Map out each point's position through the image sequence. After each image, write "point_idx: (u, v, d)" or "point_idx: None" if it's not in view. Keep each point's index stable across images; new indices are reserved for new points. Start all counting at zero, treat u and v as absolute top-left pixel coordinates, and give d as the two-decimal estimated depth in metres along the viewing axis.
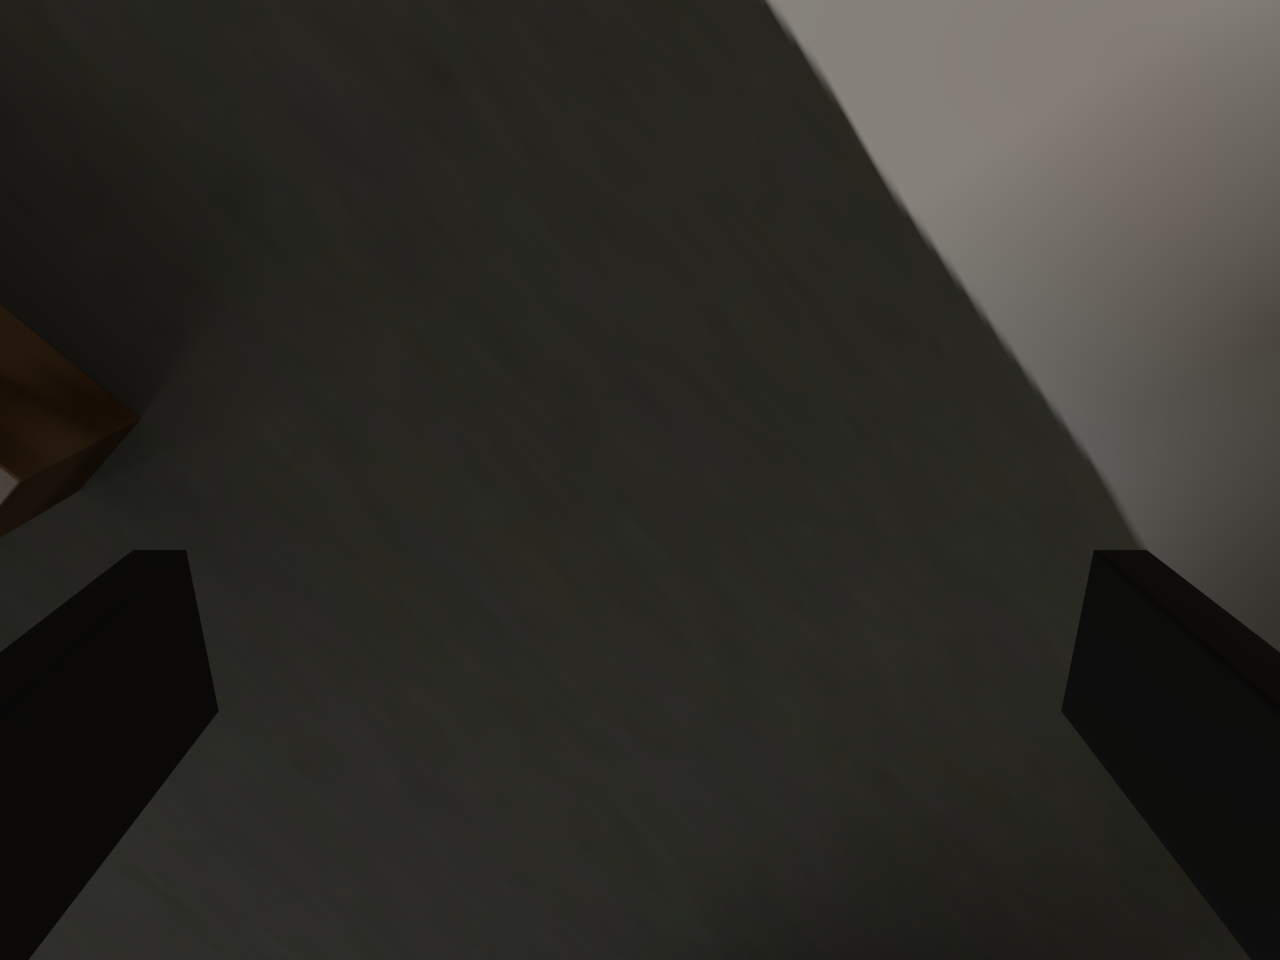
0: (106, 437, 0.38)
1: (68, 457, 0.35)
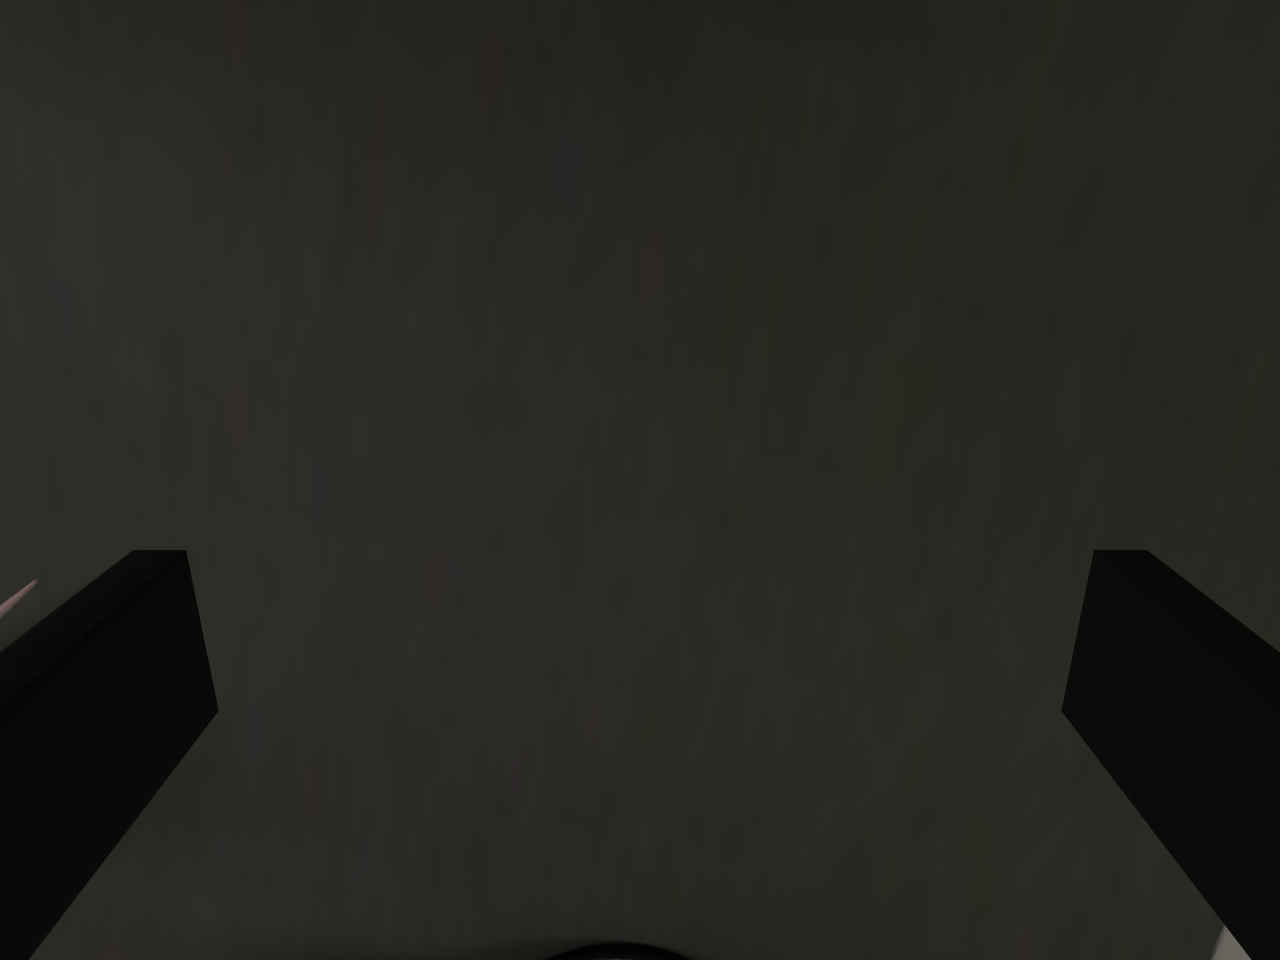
0: None
1: None
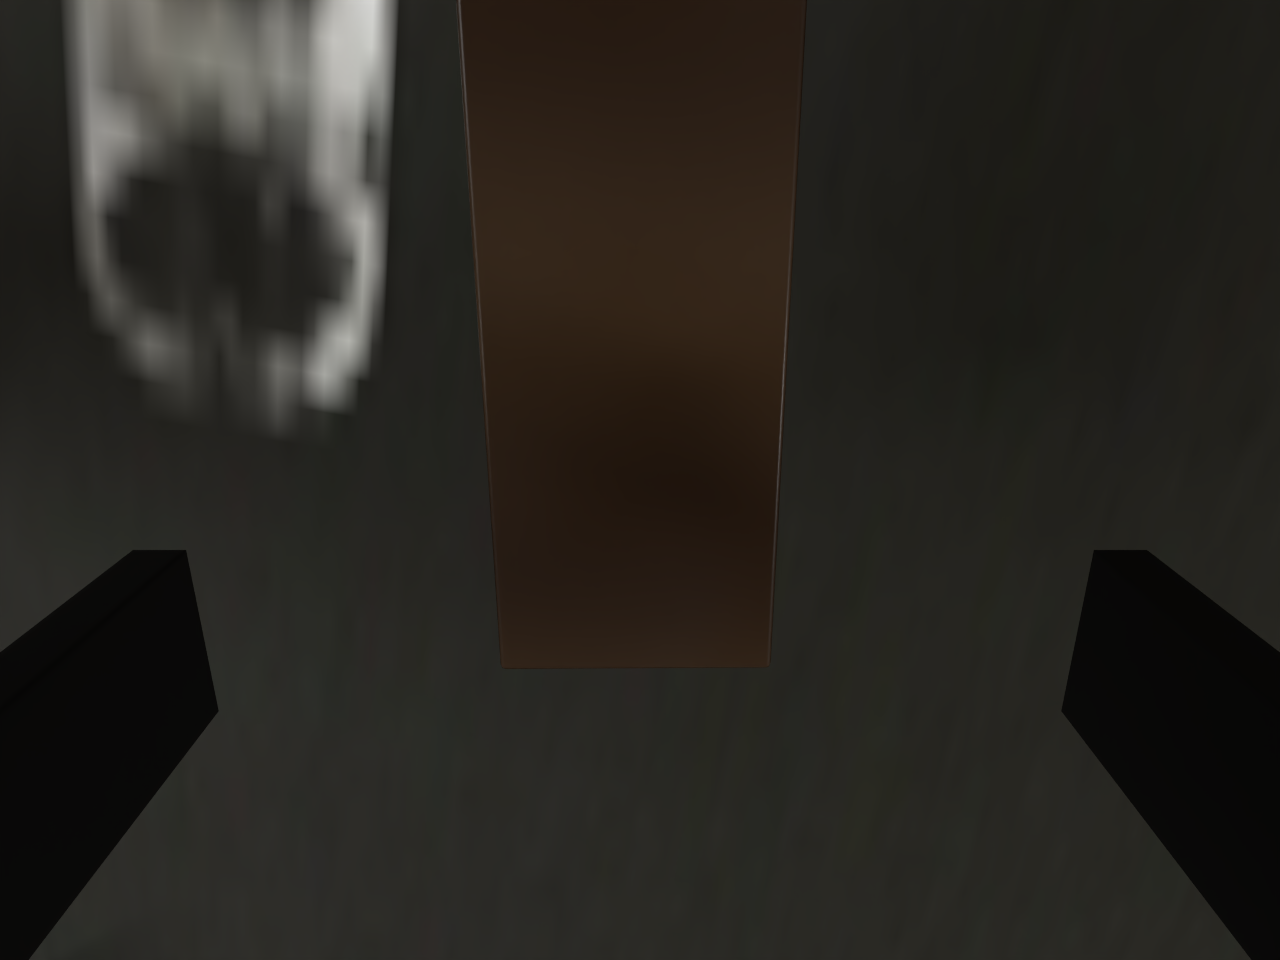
0: None
1: None
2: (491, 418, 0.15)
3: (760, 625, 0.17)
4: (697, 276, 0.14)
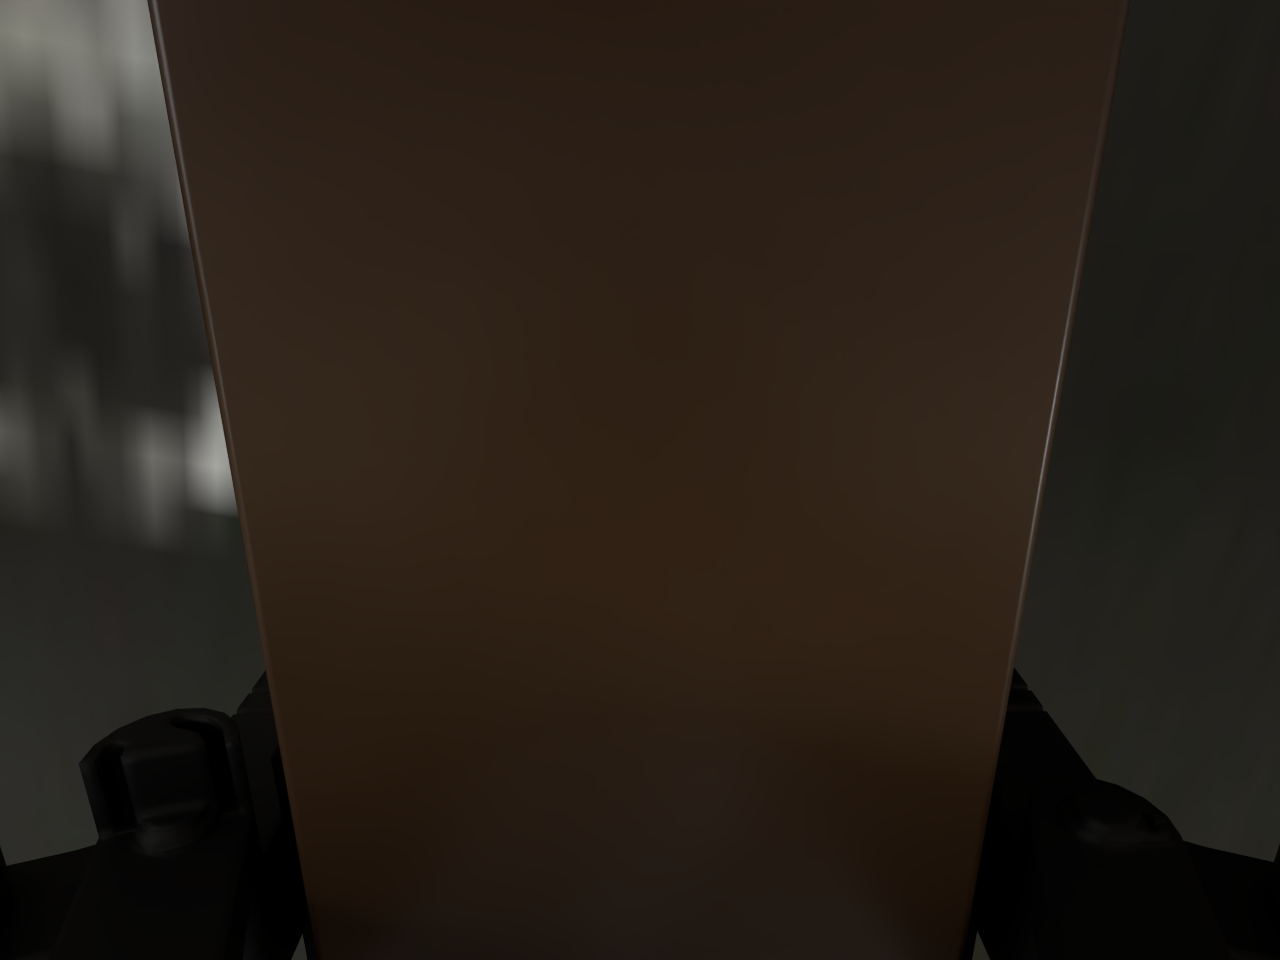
0: None
1: None
2: (310, 839, 0.07)
3: None
4: (803, 547, 0.06)
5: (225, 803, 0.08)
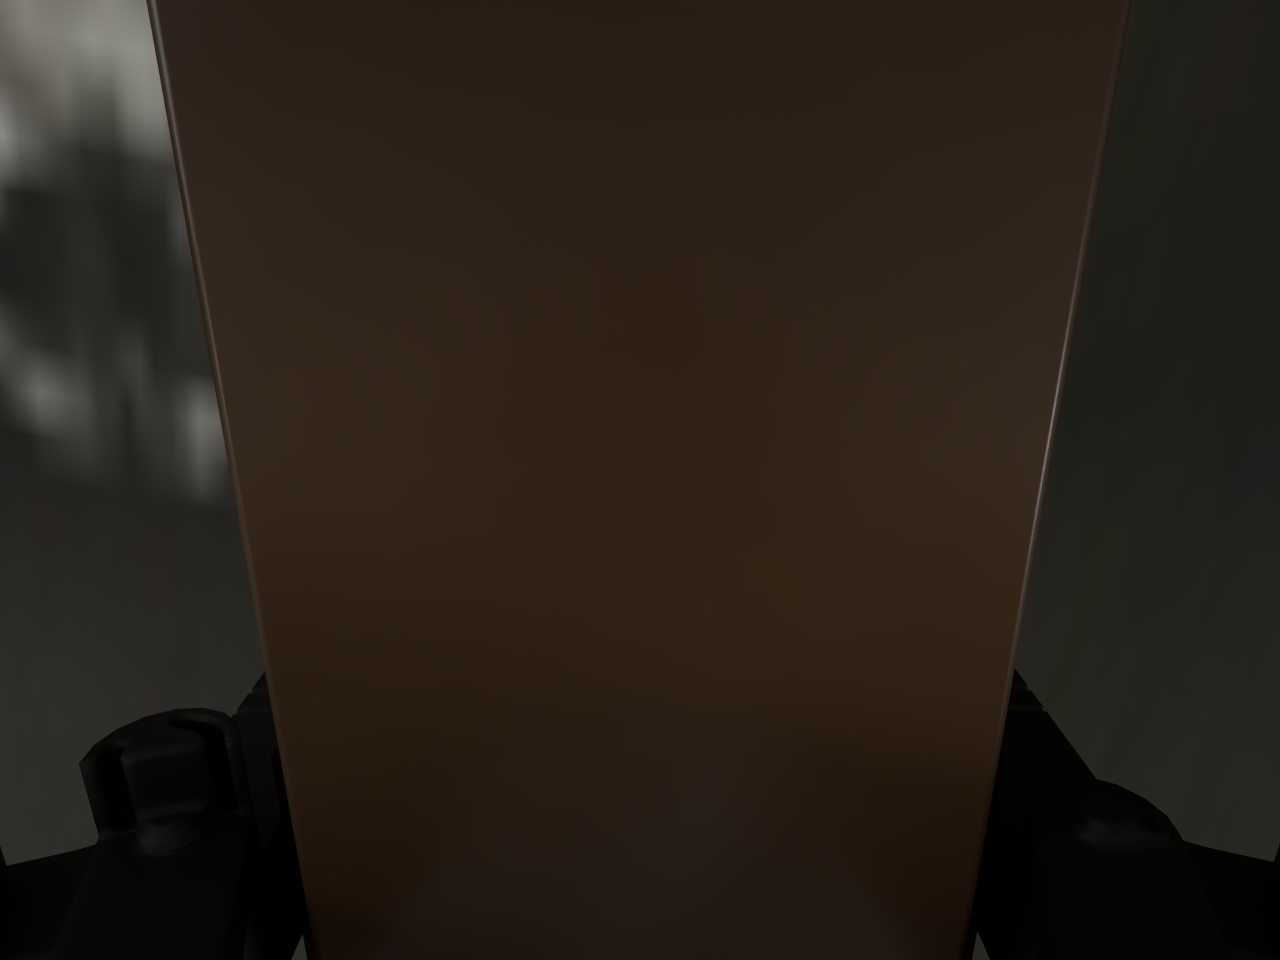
0: None
1: None
2: (309, 840, 0.07)
3: None
4: (802, 547, 0.06)
5: (225, 803, 0.08)
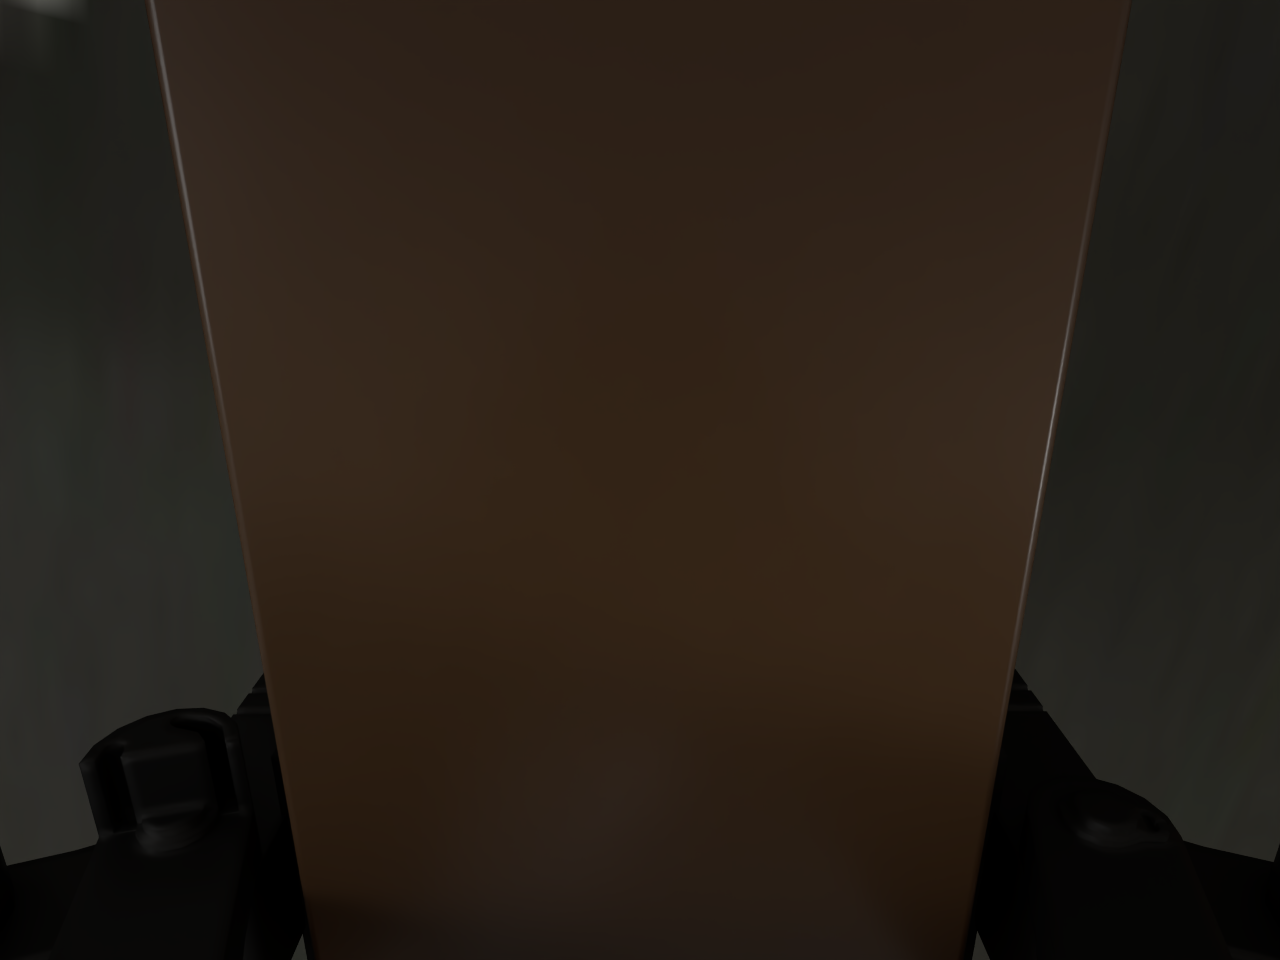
0: None
1: None
2: (307, 839, 0.07)
3: None
4: (802, 547, 0.06)
5: (226, 803, 0.08)
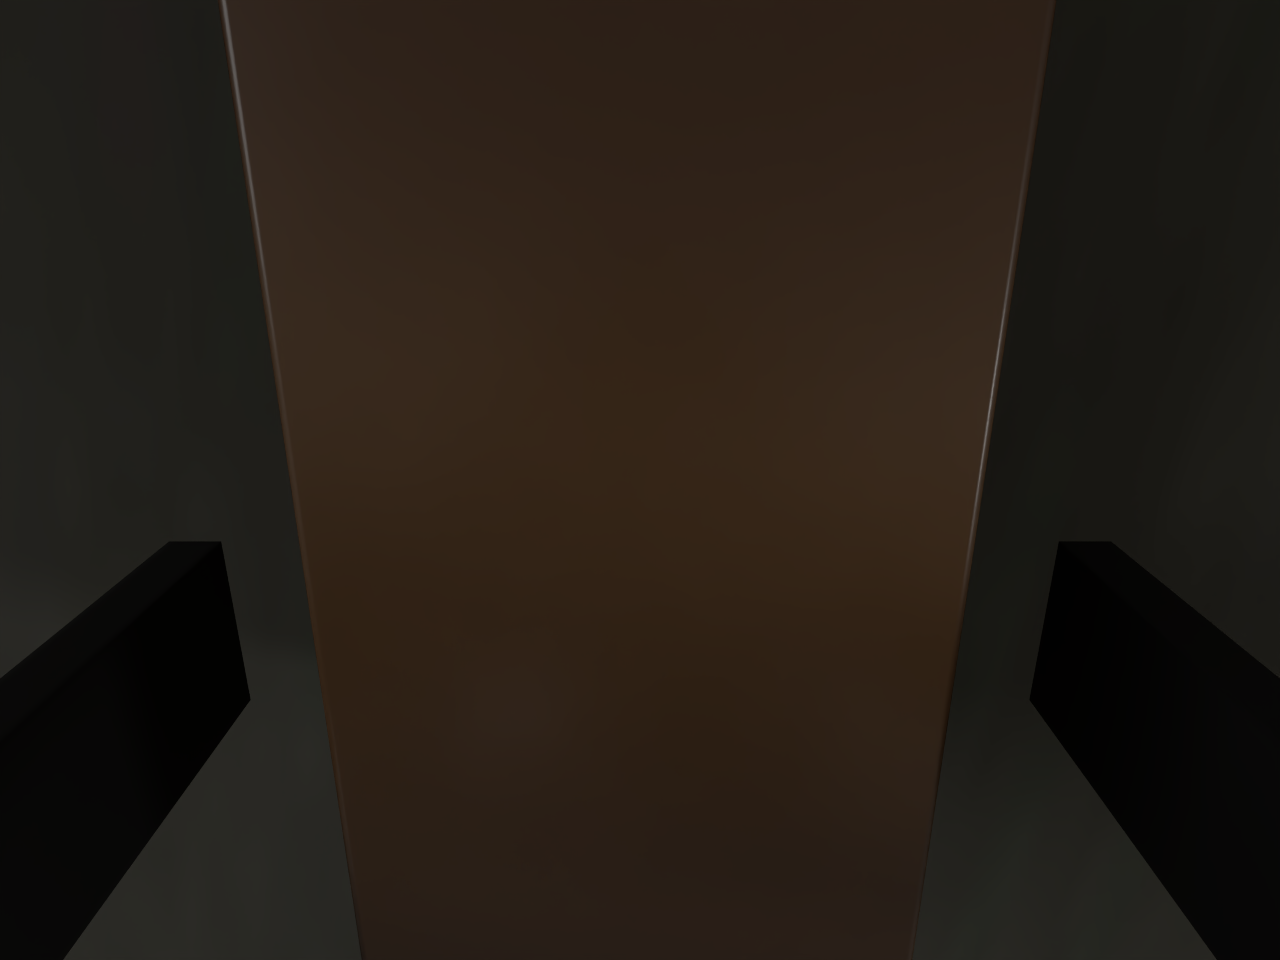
0: None
1: None
2: (346, 771, 0.08)
3: None
4: (777, 512, 0.07)
5: None
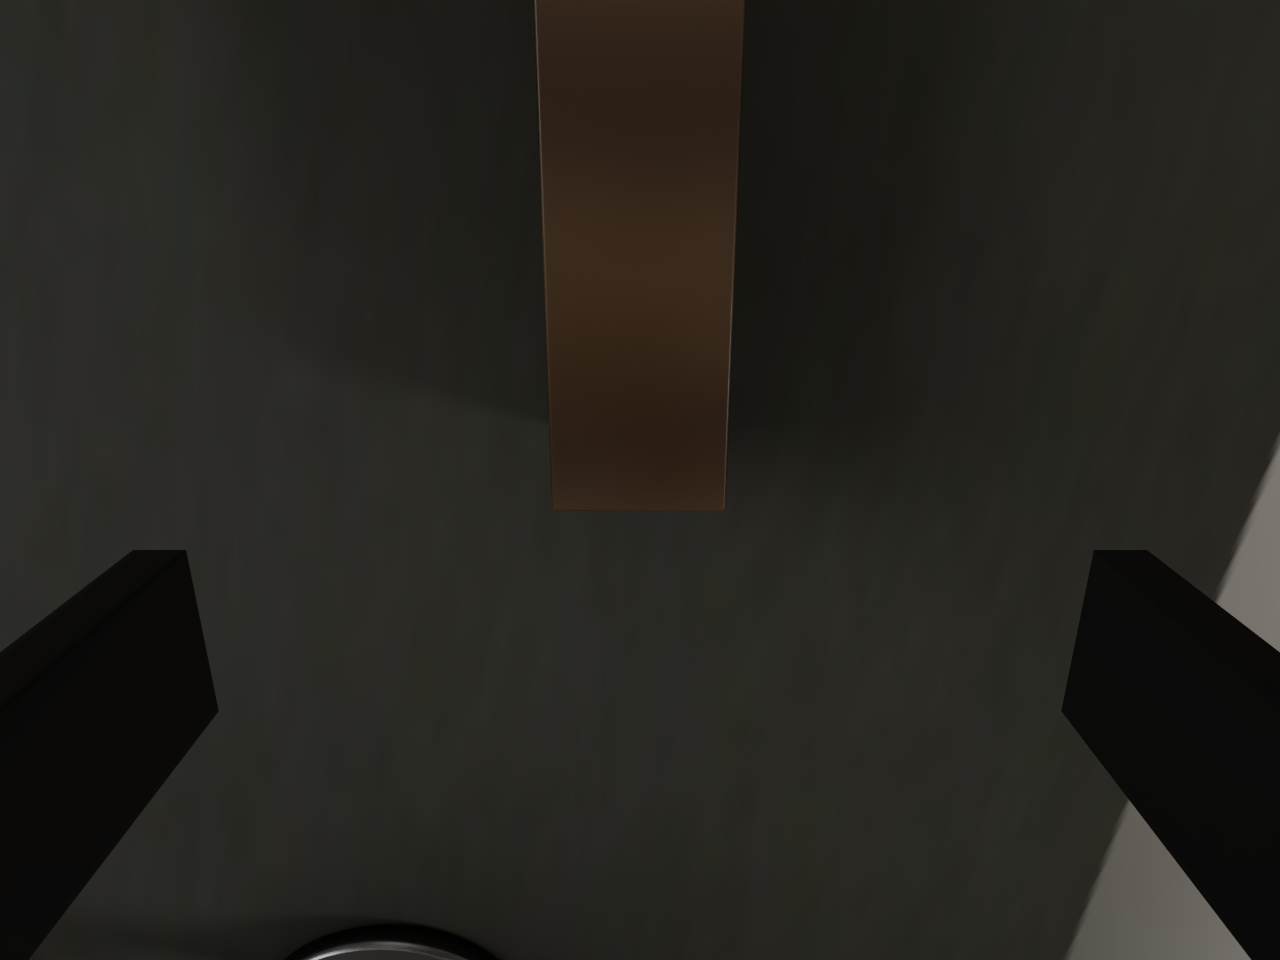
0: None
1: None
2: (550, 345, 0.25)
3: (719, 481, 0.26)
4: (678, 257, 0.24)
5: None
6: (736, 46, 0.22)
